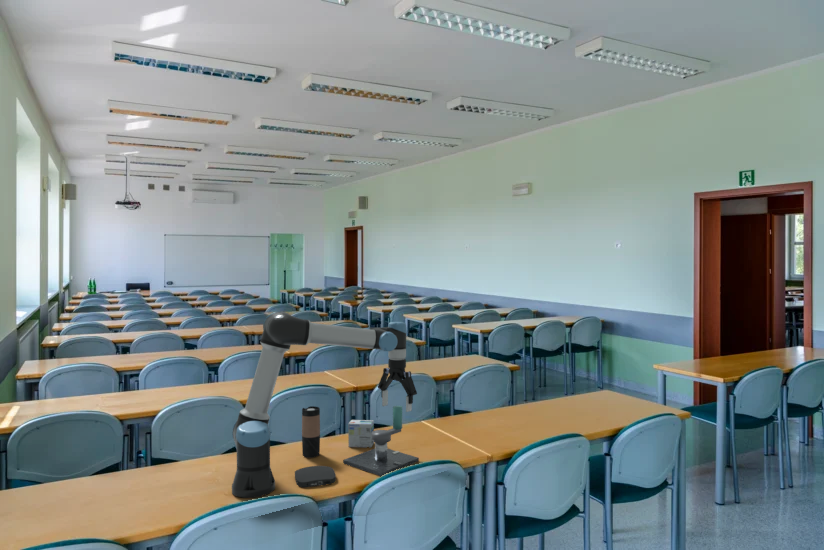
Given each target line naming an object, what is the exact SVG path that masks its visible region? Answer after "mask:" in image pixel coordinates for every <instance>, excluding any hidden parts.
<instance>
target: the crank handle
mask: <svg viewBox="0 0 824 550" xmlns="http://www.w3.org/2000/svg"><path fill="white" fill-rule="evenodd" d="M402 429H403V406H402V405H394V406H393V407H392V428H390V429H374V431H373V432H371V441H372V442H374V444H375V443H386V442H387V443H389V442H391V441H392V435H395V434H399V433H401V432H402Z"/></svg>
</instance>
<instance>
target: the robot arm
mask: <svg viewBox="0 0 824 550" xmlns="http://www.w3.org/2000/svg"><path fill="white" fill-rule="evenodd" d="M262 329H263V331H262V333H261V338H260V342H259V343H260V344H261V347H262V348H261V352H260V356H259V358H258V361H257V366H256V370H255V374H254V376H253V380H252V382H251V387H250V390H249V393H248V396H247V397H248V398H247V400H246V403H245V407H243V408H242V409H241V410H239V413H238V417H237V419H236V421H235V422H234V424H233V427H232V432H231V433H232V439H233V441H234V445H235V448H236V472H235V474H234V478H233V481H232V484H231V493H232V495H233V496H235V497H238V498H243V499H247V498H248V499H251V498H258V497H259V498H260V497H263V496H262V495H264V496H266V495H268V494H270V492H271V493H273V492H274V491H275V489H276V480H275V477H274V474H273V471H272V468H271V430H270V429H271V428H270V426H269V423H270V419H271V416H270V415H269V413H268V411H269V408H270V404H271V400H272V397H273V393H274V389H275V387H276V383H277V380H278V376H279V373H280V370H281V366H282V362H283V360H284V356H285V353H286V352H288V351H290V349H291V346H294V345H296V346H307V345H308V344H317V345H327V346H328V345H329V346H337V347H338V346H339V347H349V348H350V347H351V348H361V349H370V350H371V349H373V350H378V351H379V350H382V351H383V352H388V353H387V354H388V355H387V356H388V360H387V361H388V362H387V363H388V364H387V365H388V367H385V368H383V372H382V375H381V377H380V380H379V382H378V386H377V388H378V389H380V391H381V392H380V393H381V398H382V399H381V400H382V401H381V402H382V404H381V405H382V406H381V407H386V406H388V405H389V403H388V402H389V390H388V388H389V386H390V385H391V384H392V383H393V381H396V382H399V383H400V384H401V386H402V388H403V389H404V390H405V393H406V396H405V412H406V413H409V412H412V410H413V409H412V408H413V406H412V405H413V402H414V396H415V395H417V394H418V392H417V388H416V386H415V383H414V379H413V377H412V371H406V368H407V334H408V333H407V324H406V323H405V322H403V321H390V322H389V323H388V325H387V326H385V327H384V326H383V327H382V326H381V327H363V328H361V327H352V326H351V327H350V326H342V325H333V324H323V323H314V322H312V321H310V319H303V318H299V317H296V316H293V315H291V314H290V313H288V312H285V311H278V310H277V311H274V312H272V313H270V314H269V315H267V316H266V318H265V320H264V321H263V325H262ZM265 494H266V495H265Z"/></svg>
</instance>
